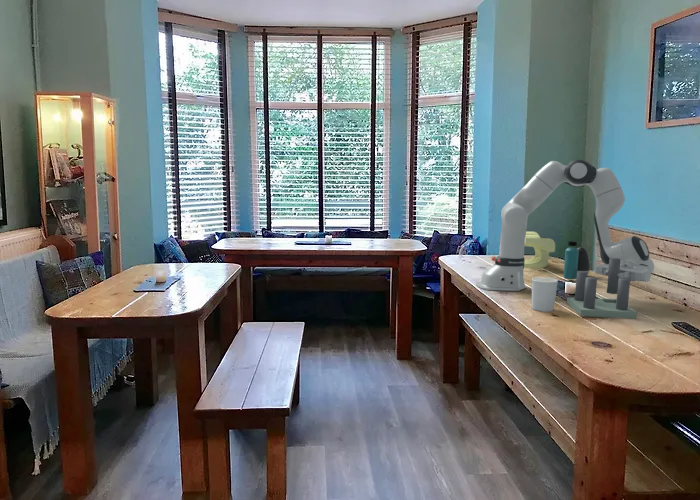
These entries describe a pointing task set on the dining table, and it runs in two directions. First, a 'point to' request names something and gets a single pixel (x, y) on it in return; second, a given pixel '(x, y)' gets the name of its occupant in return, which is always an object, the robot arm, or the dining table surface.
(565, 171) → the robot arm
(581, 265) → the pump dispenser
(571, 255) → the beverage bottle
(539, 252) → the pale yellow curved piece
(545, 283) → the candle holder
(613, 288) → the stool leg
